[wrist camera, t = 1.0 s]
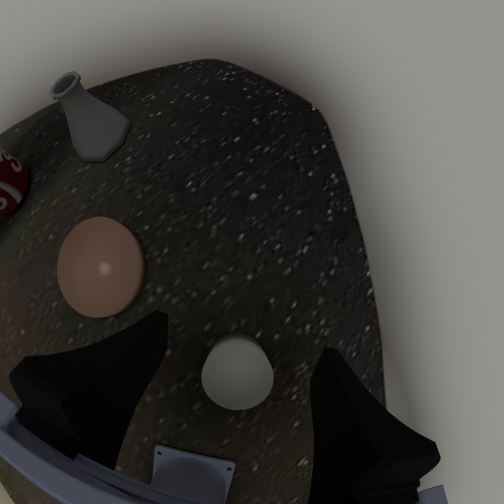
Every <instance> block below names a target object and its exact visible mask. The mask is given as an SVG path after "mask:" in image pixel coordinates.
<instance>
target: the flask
mask: <svg viewBox="0 0 504 504" xmlns="http://www.w3.org/2000/svg"><path fill="white" fill-rule="evenodd" d="M80 80H81V77H80V75H79V74H78V73H76V72H75V71H73V72H69V73H66V74H64V75H63V76H62V77H61V78H59V79H58V80H57V81H56V82H55V83H54V85H53V86H52V88H51V90H50V91H49V93H50V95H51V96H52V98H53V99H55V100H56V99H58V100H59V101H60V103H61V105H62V107H63V109H64V111H65V114H66V117H67V121H68V125H69V129H70V134H71V138H72V143H73V147H74V149H75V151H76V152H77V154H78V155H79V156H80V158H81V159H82V160H83V162H104V161H105V160H106V159H107V158H108V157H109V156H110V155H111V154H113V153H114V152H115V151H116V150H117V149H118V148H119V147H120V146H121V145H123V143H124V140H125V138H126V135H127V132H128V130H129V128H130V125H131V122H130V121H129V120H128V119H127V118H126V117H125V116H124V115H122V114H121V113H120V112H119V111H117V110H116V109H114V108H112V107H110V106H109V105H107V104H105V103H103V102H102V101H100V100H98V99H97V98H95V97H93V96H92V95H90V94H89V93H88V92H87V91H86V90H85V89H84V88H83V86H82V85H81V83H80Z"/></svg>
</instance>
